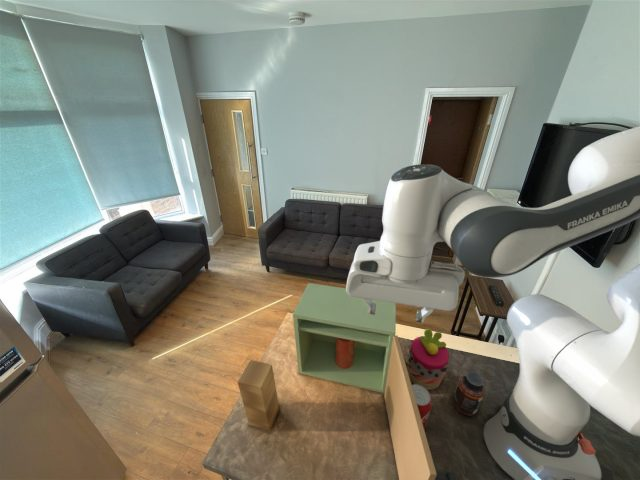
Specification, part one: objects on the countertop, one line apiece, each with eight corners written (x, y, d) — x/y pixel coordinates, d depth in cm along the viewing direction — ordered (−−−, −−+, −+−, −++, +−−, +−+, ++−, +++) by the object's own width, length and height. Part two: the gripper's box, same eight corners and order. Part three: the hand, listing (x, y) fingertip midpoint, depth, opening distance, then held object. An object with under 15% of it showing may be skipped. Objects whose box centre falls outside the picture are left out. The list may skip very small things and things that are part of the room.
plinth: (279, 407, 72) (272, 364, 63) (270, 431, 67) (261, 387, 58) (259, 402, 73) (249, 359, 65) (248, 424, 68) (237, 381, 60)
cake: (448, 391, 75) (460, 355, 68) (410, 390, 75) (419, 355, 68) (434, 359, 84) (444, 325, 77) (401, 358, 84) (408, 325, 77)
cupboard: (386, 393, 74) (395, 332, 63) (298, 373, 81) (292, 314, 69) (387, 353, 86) (396, 295, 75) (311, 338, 93) (308, 282, 81)
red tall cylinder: (354, 355, 85) (356, 328, 79) (352, 370, 80) (353, 343, 74) (337, 351, 86) (337, 324, 80) (333, 366, 81) (333, 339, 76)
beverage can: (426, 438, 64) (435, 410, 59) (400, 433, 66) (406, 405, 60) (423, 412, 70) (430, 384, 64) (398, 407, 71) (404, 379, 65)
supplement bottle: (481, 416, 69) (493, 390, 63) (458, 416, 69) (468, 390, 63) (470, 394, 74) (480, 368, 69) (448, 394, 74) (457, 368, 69)
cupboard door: (406, 396, 74) (420, 335, 62) (441, 533, 50) (473, 475, 39) (384, 396, 74) (393, 335, 63) (408, 532, 50) (430, 474, 39)
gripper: (463, 256, 47) (447, 313, 53) (350, 244, 52) (348, 298, 58) (471, 276, 42) (453, 337, 48) (345, 261, 46) (343, 318, 53)
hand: (395, 316), depth 53 cm, fingers open, 8 cm apart
